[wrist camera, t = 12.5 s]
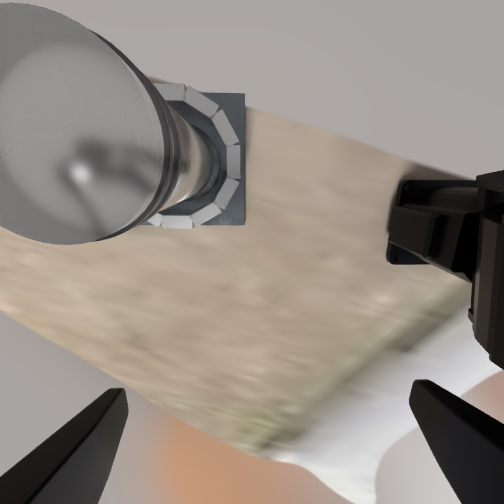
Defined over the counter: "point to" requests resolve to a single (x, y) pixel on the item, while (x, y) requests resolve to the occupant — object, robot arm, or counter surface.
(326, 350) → the counter surface
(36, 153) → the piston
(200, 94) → the sleeve
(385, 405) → the counter surface
